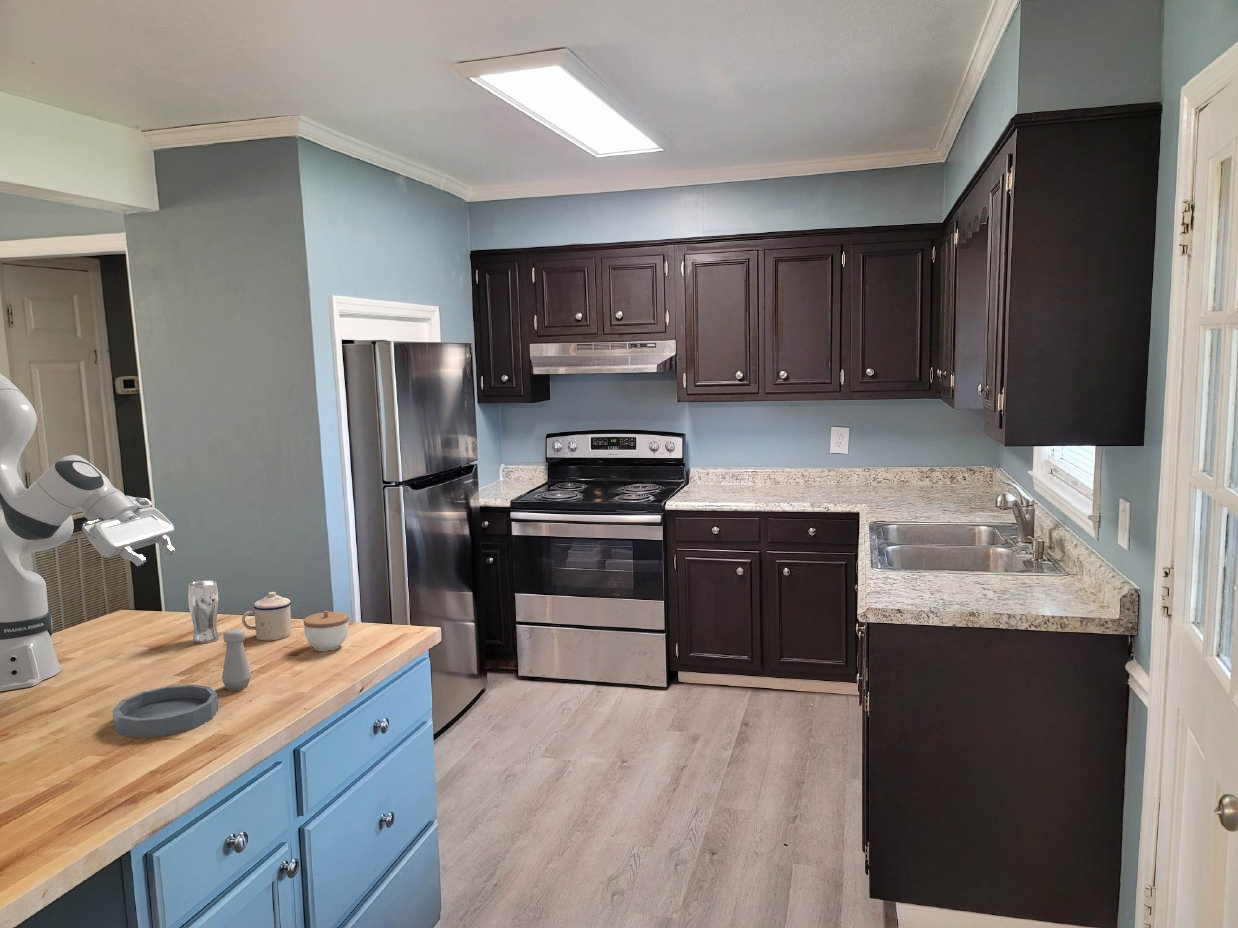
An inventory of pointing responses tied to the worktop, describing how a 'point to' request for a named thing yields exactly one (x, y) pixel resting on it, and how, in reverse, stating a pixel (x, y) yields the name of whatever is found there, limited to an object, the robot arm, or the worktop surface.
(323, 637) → the lidded jar
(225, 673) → the salt shaker
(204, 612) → the beer glass
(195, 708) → the bowl
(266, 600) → the teacup with lid
